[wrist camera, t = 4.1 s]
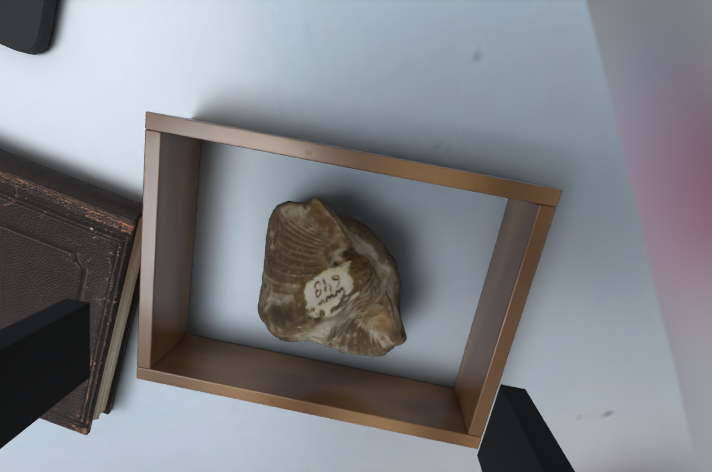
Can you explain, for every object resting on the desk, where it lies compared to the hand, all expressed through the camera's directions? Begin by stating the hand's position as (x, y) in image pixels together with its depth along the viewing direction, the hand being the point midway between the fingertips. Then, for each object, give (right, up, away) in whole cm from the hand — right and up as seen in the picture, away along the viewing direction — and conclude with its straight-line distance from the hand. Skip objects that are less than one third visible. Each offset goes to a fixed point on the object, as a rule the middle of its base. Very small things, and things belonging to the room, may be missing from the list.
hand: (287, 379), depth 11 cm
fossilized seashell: (+1, +3, +11) cm, 11 cm away
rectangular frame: (+1, +3, +11) cm, 11 cm away
